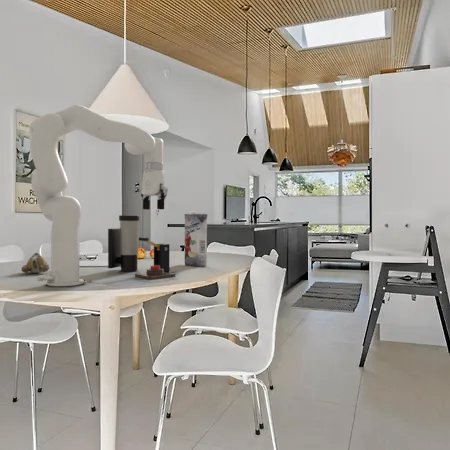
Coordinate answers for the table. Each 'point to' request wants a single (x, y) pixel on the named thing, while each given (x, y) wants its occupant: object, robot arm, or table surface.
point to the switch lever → (149, 242)
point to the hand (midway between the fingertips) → (153, 209)
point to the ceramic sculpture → (36, 264)
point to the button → (155, 267)
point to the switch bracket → (162, 257)
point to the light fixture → (124, 244)
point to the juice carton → (195, 239)
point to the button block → (155, 274)
